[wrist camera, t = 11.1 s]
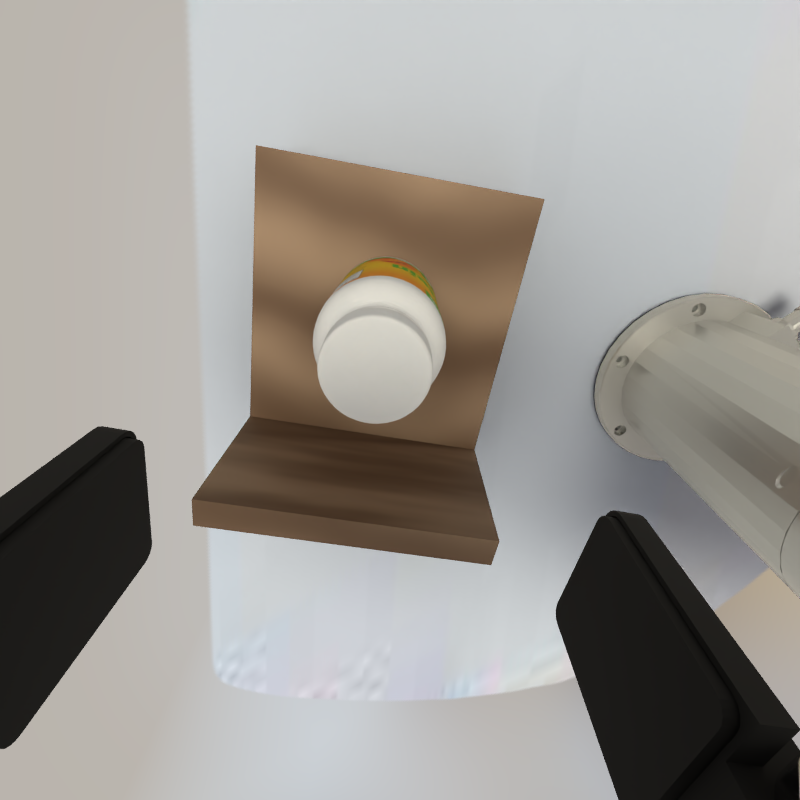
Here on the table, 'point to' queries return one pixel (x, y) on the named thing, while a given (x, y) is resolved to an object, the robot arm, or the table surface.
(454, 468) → the shelf stand
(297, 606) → the table surface
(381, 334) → the supplement bottle
